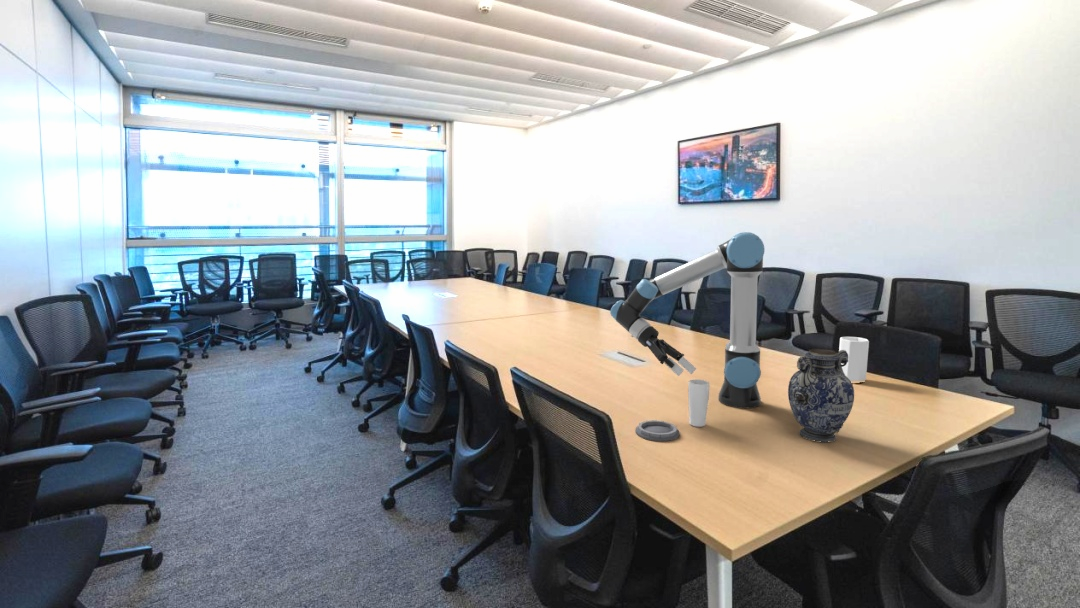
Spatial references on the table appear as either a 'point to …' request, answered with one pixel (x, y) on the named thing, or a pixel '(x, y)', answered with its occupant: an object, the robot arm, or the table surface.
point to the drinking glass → (698, 401)
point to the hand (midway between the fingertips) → (687, 372)
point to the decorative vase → (821, 394)
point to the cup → (855, 357)
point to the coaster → (657, 431)
